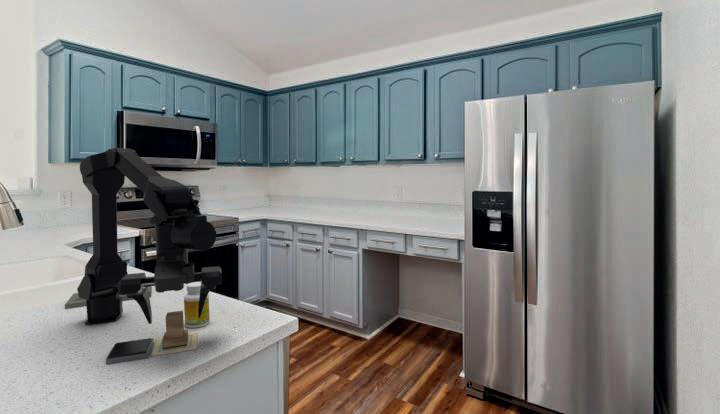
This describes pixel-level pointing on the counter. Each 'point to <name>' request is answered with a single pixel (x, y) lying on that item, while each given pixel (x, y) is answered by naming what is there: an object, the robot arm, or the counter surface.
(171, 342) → the stamp
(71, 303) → the soap mold
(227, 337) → the counter surface
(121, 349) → the ink pad
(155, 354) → the card
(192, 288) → the supplement bottle
